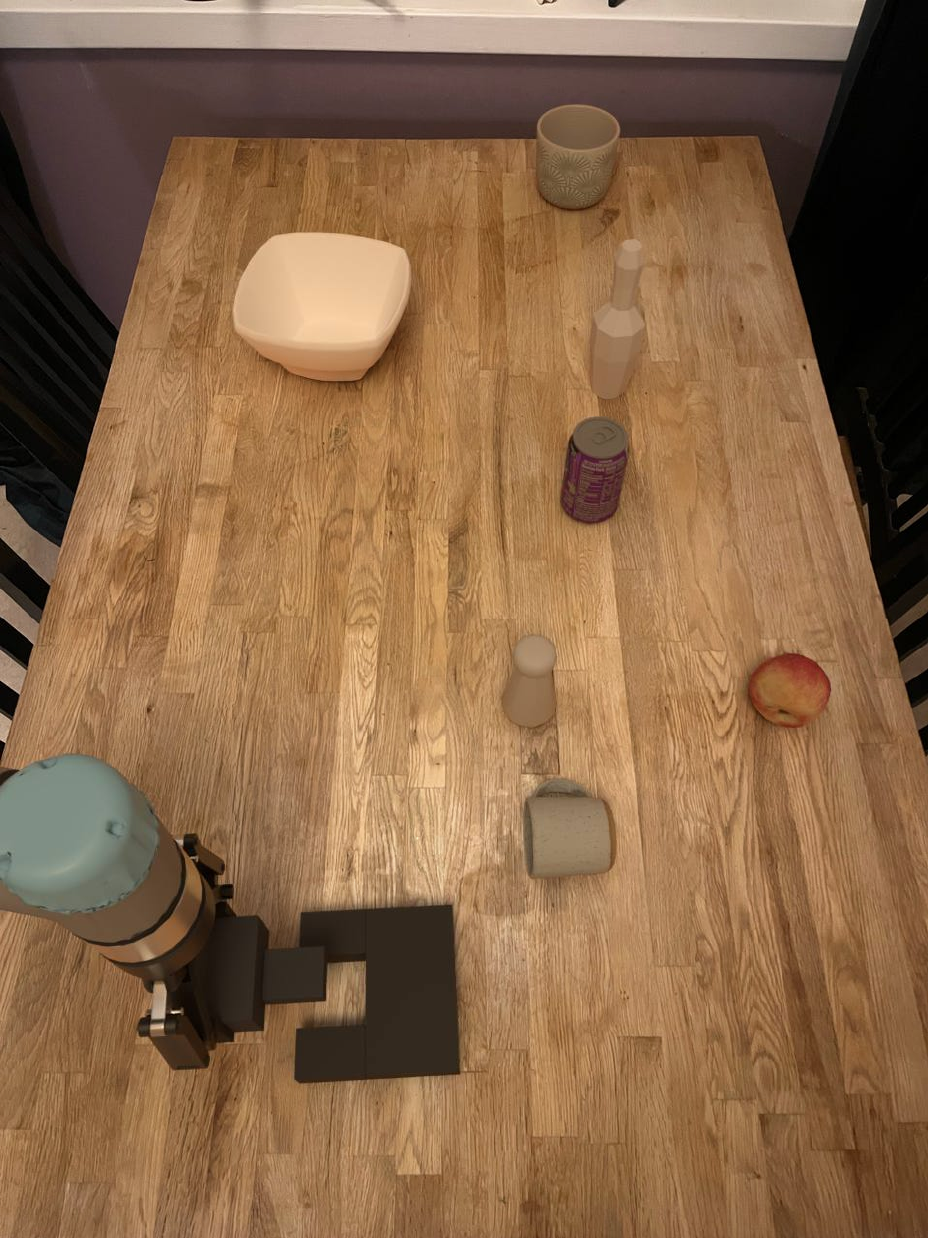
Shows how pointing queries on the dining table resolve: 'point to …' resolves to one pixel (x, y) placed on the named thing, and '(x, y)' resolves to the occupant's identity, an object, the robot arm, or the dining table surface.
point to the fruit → (790, 690)
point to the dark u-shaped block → (386, 995)
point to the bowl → (322, 302)
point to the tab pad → (256, 973)
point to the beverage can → (594, 469)
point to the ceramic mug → (567, 832)
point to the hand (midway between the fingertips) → (221, 981)
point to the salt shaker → (531, 682)
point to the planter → (575, 155)
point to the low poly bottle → (618, 326)
